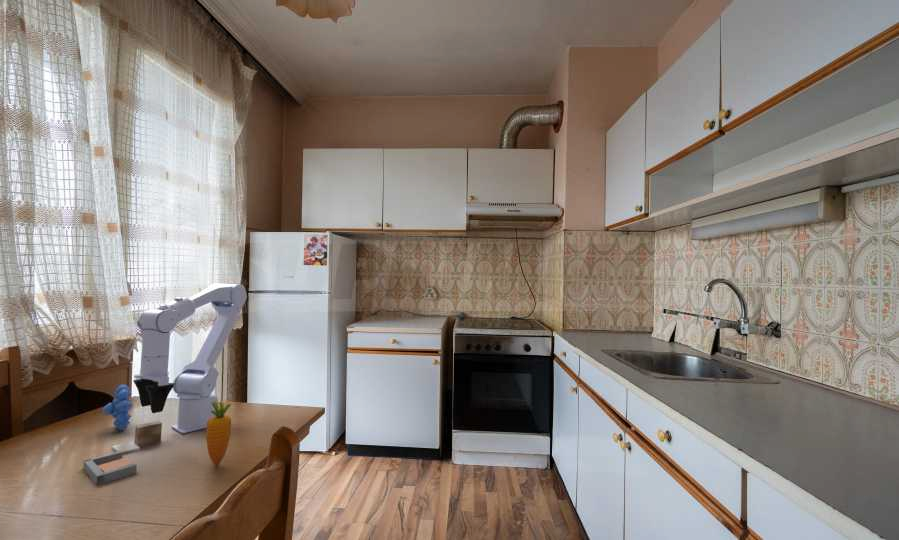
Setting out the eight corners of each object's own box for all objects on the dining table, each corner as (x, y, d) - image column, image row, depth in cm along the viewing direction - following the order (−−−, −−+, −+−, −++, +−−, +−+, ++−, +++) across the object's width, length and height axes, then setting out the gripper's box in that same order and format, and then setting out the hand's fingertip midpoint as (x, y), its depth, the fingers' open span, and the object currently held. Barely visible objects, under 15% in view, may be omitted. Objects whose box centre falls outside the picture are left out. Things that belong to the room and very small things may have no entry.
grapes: (98, 425, 111) (101, 383, 111) (128, 420, 116) (131, 380, 116) (102, 438, 103) (105, 392, 103) (134, 431, 108) (137, 388, 108)
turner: (155, 437, 104) (156, 419, 104) (163, 443, 101) (164, 424, 101) (112, 448, 97) (113, 428, 97) (119, 455, 93) (120, 434, 93)
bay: (121, 458, 92) (121, 450, 92) (136, 473, 85) (136, 464, 85) (83, 468, 86) (83, 460, 86) (96, 485, 80) (97, 476, 80)
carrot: (233, 463, 91) (237, 399, 92) (214, 472, 87) (218, 405, 87) (218, 459, 93) (221, 396, 93) (198, 468, 88) (202, 402, 89)
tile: (124, 464, 90) (124, 457, 90) (133, 470, 87) (133, 463, 87) (96, 472, 86) (96, 465, 86) (104, 479, 83) (105, 472, 83)
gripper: (127, 354, 101) (123, 406, 100) (146, 362, 92) (142, 419, 92) (159, 350, 107) (155, 400, 106) (179, 358, 98) (176, 412, 98)
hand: (151, 408), depth 99 cm, fingers open, 7 cm apart
